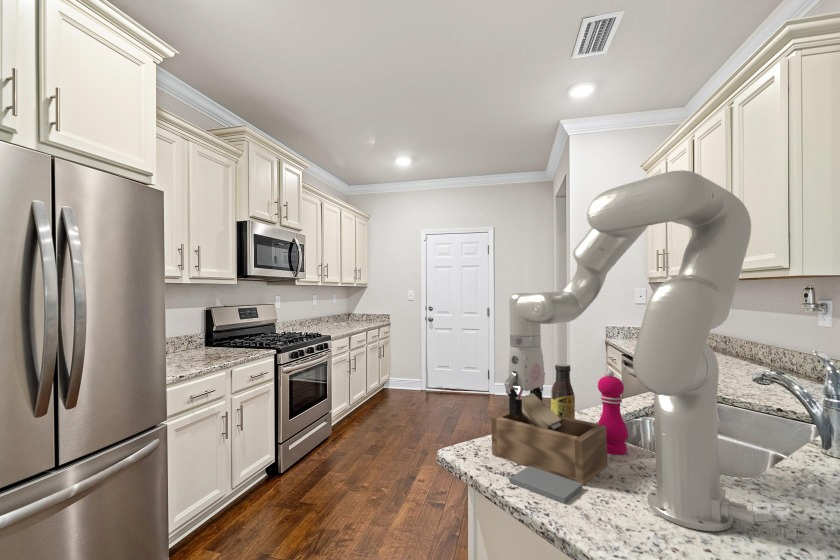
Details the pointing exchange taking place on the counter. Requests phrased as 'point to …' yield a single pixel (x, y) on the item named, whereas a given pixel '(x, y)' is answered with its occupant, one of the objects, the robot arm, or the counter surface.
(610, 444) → the pepper mill
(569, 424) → the wooden box
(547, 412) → the maple block
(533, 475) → the slate board
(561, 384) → the sauce bottle
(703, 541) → the counter surface
